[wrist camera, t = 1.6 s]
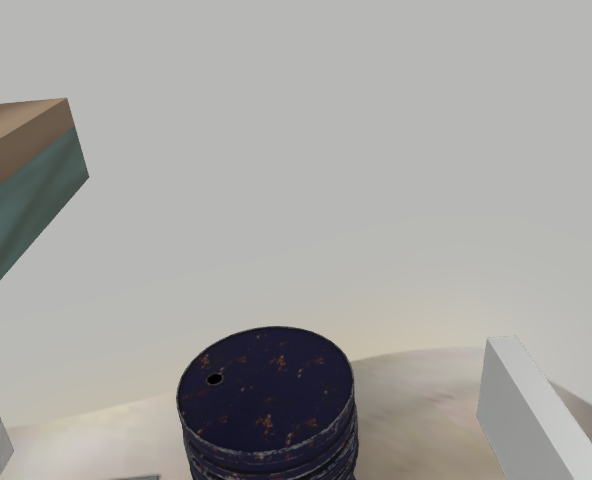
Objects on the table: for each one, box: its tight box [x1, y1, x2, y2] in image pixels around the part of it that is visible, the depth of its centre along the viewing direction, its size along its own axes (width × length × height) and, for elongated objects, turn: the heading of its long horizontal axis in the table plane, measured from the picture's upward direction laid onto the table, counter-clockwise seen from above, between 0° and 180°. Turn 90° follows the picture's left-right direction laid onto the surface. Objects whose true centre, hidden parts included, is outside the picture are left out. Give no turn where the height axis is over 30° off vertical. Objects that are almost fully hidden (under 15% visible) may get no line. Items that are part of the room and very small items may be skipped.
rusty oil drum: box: [176, 326, 359, 480], centre depth 31 cm, size 10×10×15 cm
